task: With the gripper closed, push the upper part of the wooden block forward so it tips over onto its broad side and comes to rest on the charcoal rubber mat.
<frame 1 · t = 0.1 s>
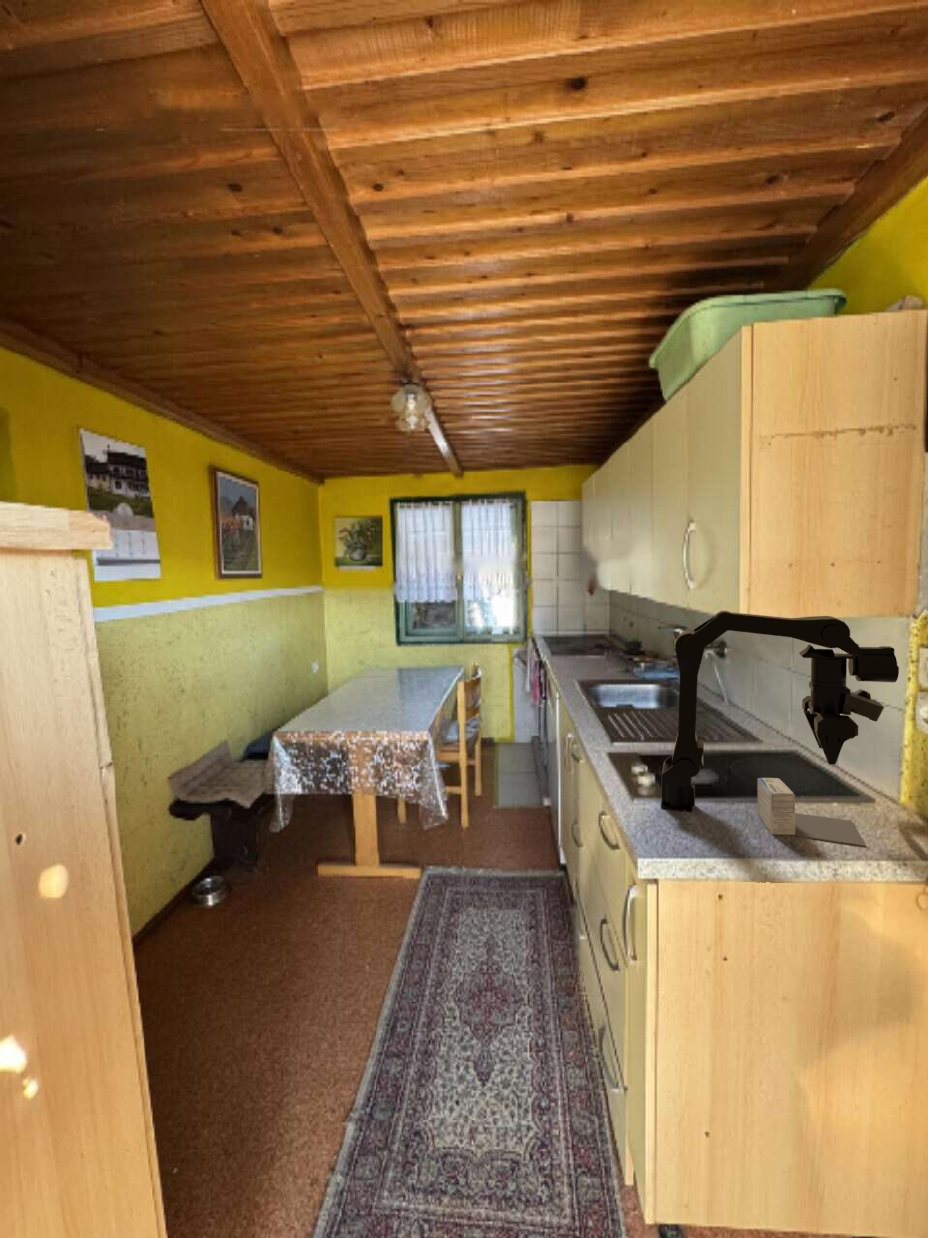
hand: (826, 756, 101), 15 cm above the countertop, tool pointing down, fingers open, 9 cm apart
mat: (824, 829, 101), on the countertop
wooden block: (775, 826, 104), on the countertop
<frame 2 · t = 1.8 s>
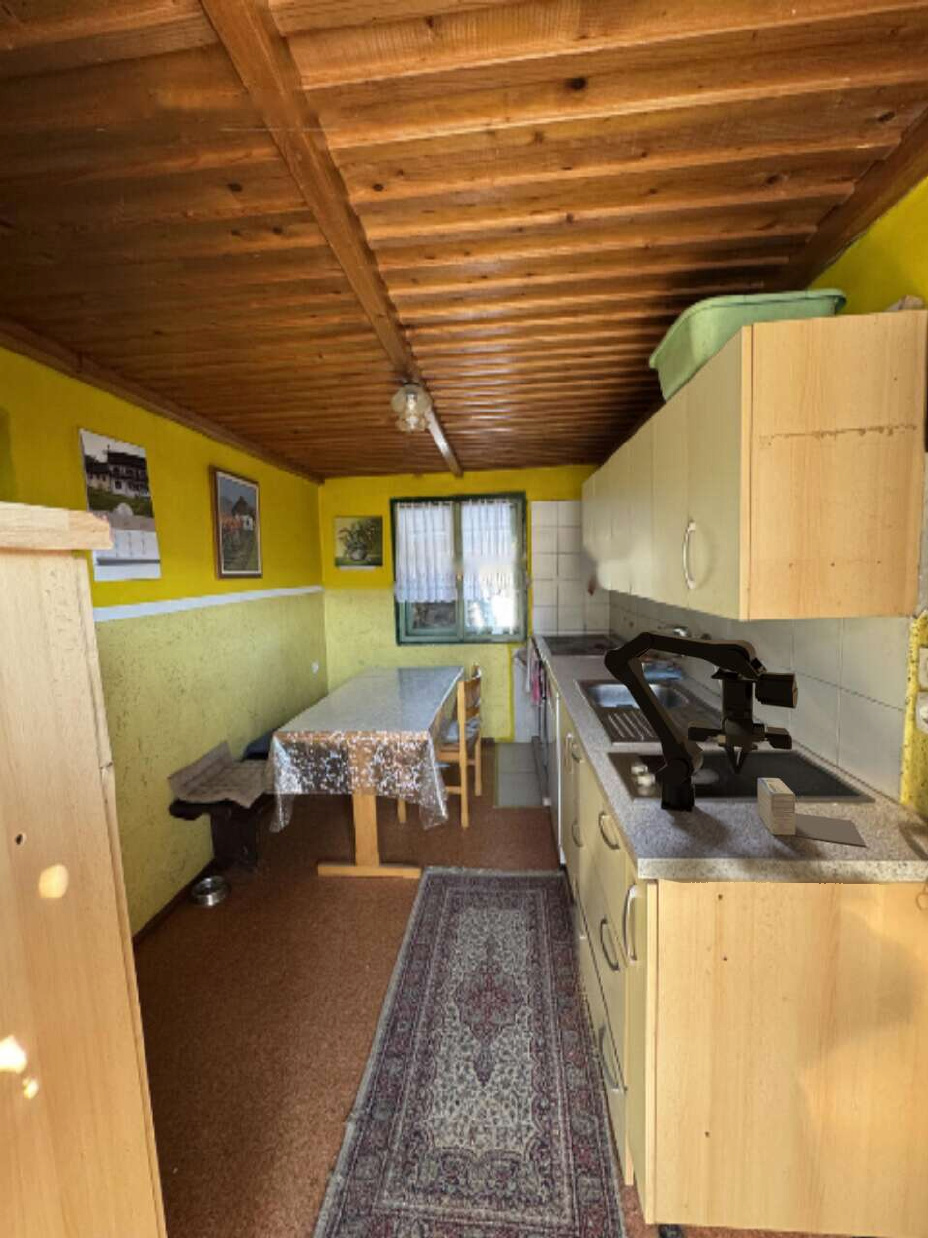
hand: (736, 774, 106), 10 cm above the countertop, tool pointing down, fingers closed
nothing on the countertop moved.
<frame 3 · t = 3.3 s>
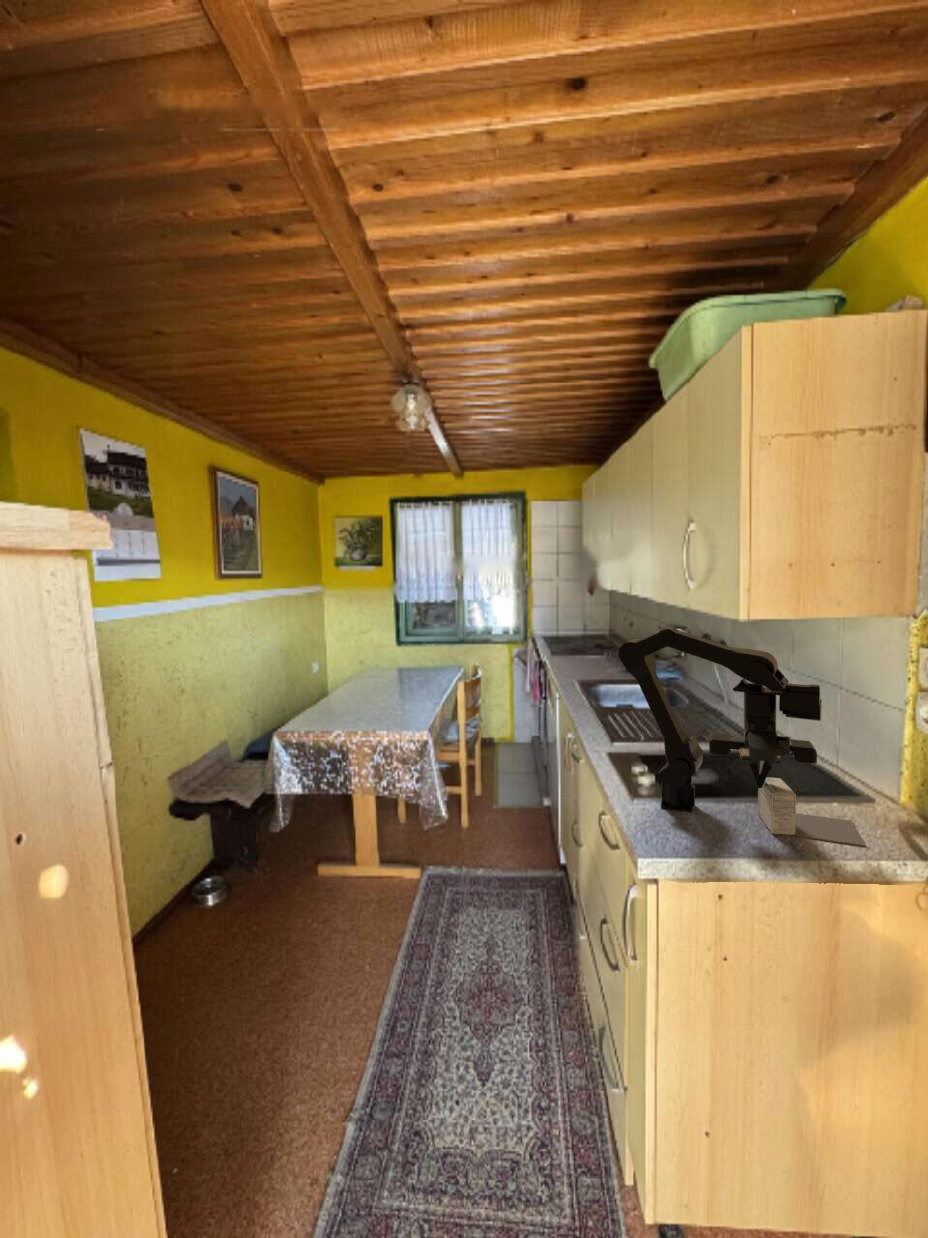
hand: (759, 787, 104), 8 cm above the countertop, tool pointing down, fingers closed
wooden block: (775, 826, 104), on the countertop, touching gripper
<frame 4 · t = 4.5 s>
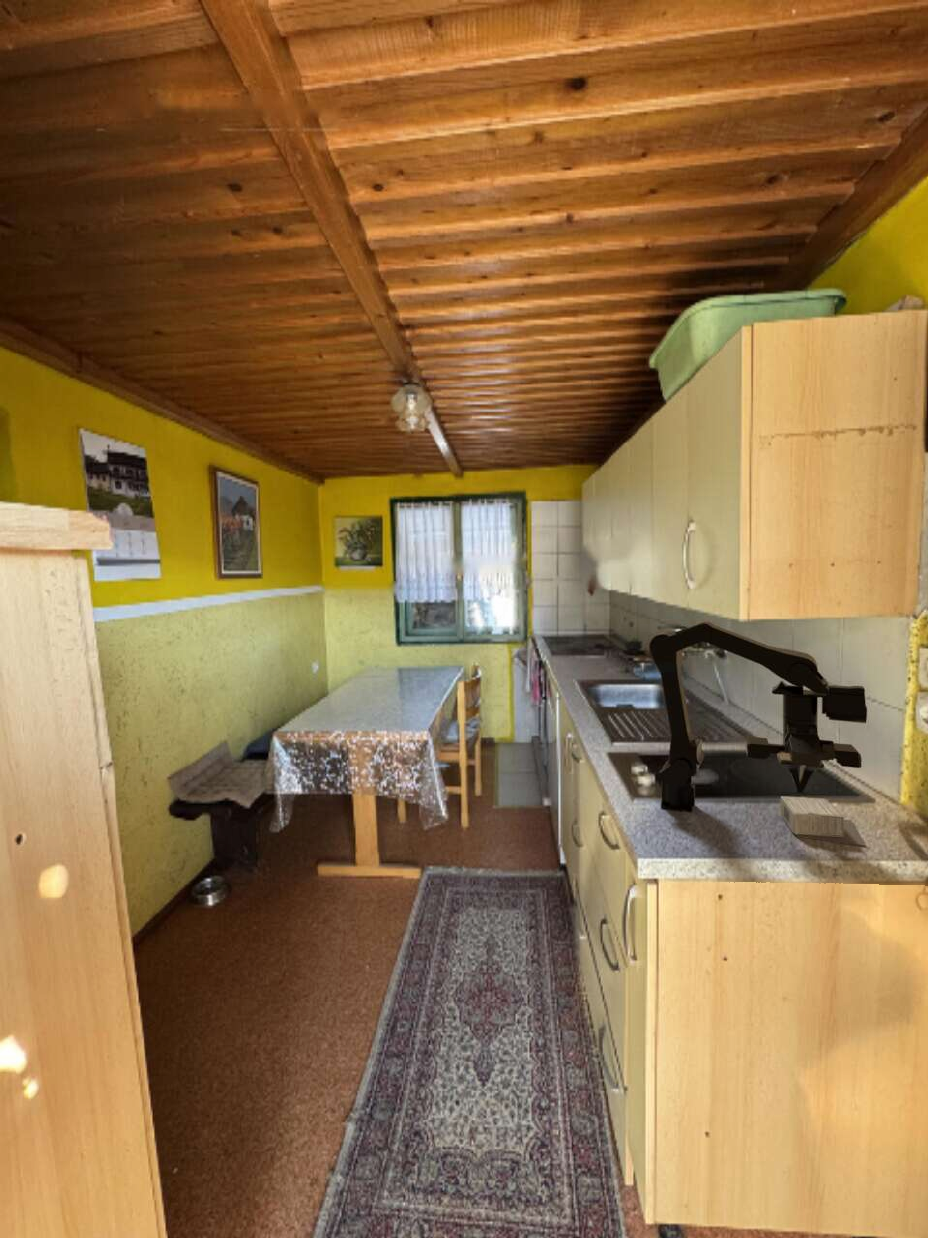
hand: (799, 792, 101), 8 cm above the countertop, tool pointing down, fingers closed
wooden block: (785, 814, 103), point 3 cm above the countertop, touching mat
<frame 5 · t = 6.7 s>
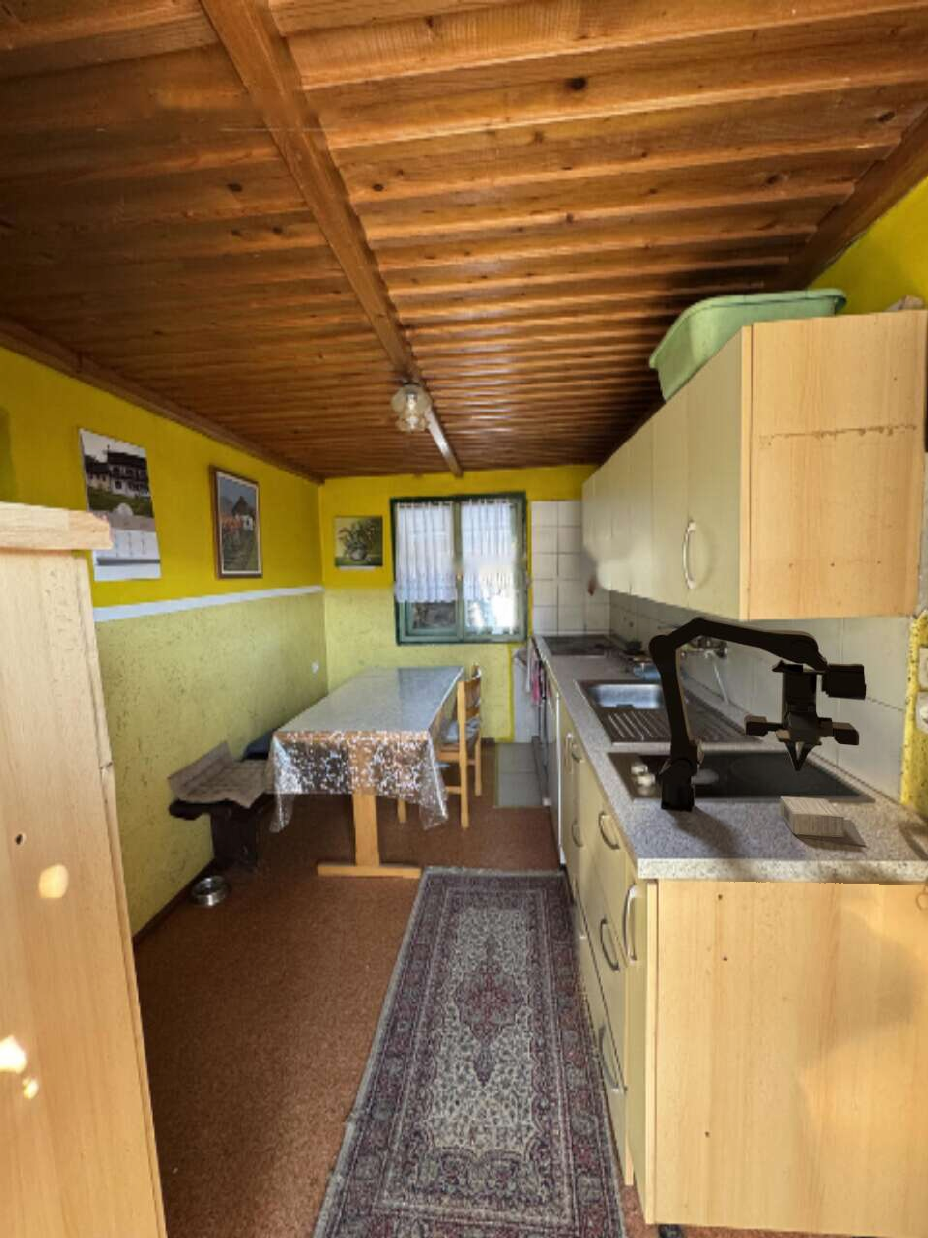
hand: (797, 770, 102), 12 cm above the countertop, tool pointing down, fingers closed
nothing on the countertop moved.
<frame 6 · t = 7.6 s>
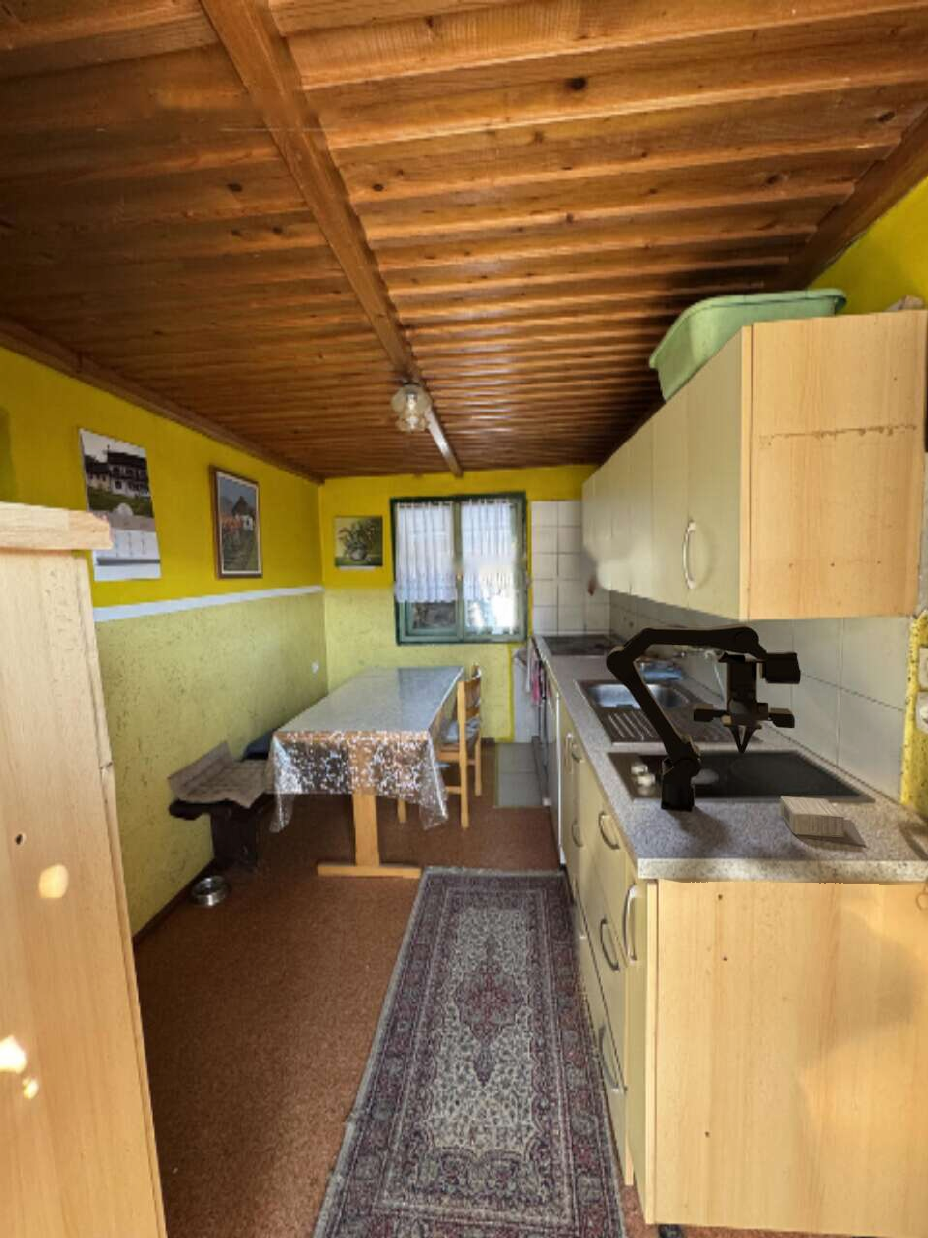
hand: (741, 753, 109), 13 cm above the countertop, tool pointing down, fingers closed
nothing on the countertop moved.
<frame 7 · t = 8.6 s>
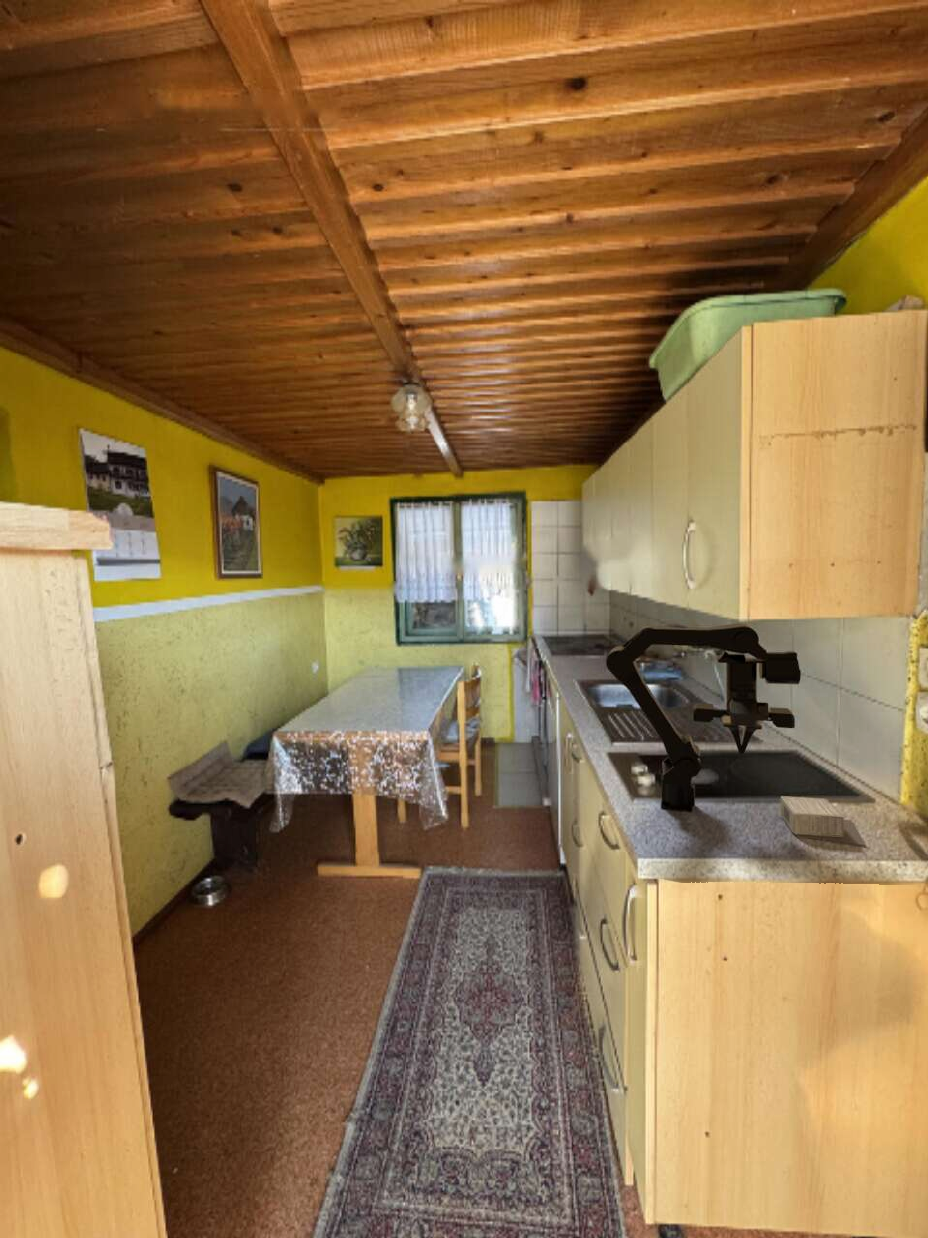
hand: (741, 753, 109), 13 cm above the countertop, tool pointing down, fingers closed
nothing on the countertop moved.
at the end: wooden block tilted 90°; wooden block touching mat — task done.
